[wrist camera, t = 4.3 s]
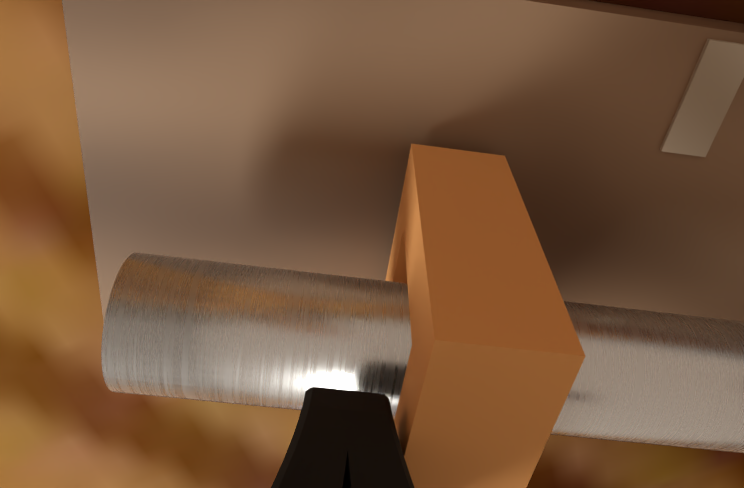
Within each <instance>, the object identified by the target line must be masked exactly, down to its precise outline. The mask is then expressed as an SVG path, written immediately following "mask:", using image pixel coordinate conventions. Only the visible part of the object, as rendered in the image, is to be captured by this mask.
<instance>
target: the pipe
mask: <svg viewBox="0 0 744 488" xmlns="http://www.w3.org/2000/svg"><path fill="white" fill-rule="evenodd" d="M564 304H565V306H566V309H567V311H568V314H569V316H570V319H571V321H572V324H573V326H574V329H575V331H576V334H577V336H578V339H579V341H580V344H581V346H582V349H583V351H584V354H585V359H584V361H583V363H582V365H581V367H580V370H579V372H578V374H577V376H576V379H575V381H574V383H573V385H572V387H571V390H570V392H569V394H568V396H567V399H566V401H565V403H564V405H563V407H562V410H561V412H560V414H559V416H558V419H557V421H556V423H555V425H554V427H553V430H552V432H551V434H558V435H568V436H579V437H589V438H599V439H609V440H620V441H630V442H640V443H651V444H661V445H671V446H681V447H692V448H702V449H712V450H723V451H733V452H743V453H744V322H743V321H735V320H726V319H717V318H708V317H699V316H691V315H682V314H673V313H664V312H655V311H647V310H638V309H629V308H620V307H611V306H603V305H594V304H585V303H576V302H568V301H564ZM411 347H412V339H411V325H410V311H409V298H408V284H407V283H400V282H392V281H383V280H374V279H365V278H356V277H348V276H339V275H330V274H321V273H313V272H304V271H295V270H286V269H277V268H269V267H260V266H251V265H242V264H233V263H225V262H216V261H207V260H198V259H189V258H181V257H172V256H163V255H154V254H145V253H133V254H131V255H130V256H128V258H127V259H126V260H125V261H124V263H123V265H122V266H121V268H120V270H119V272H118V274H117V277H116V279H115V282H114V284H113V287H112V291H111V294H110V297H109V301H108V305H107V310H106V315H105V320H104V327H103V335H102V354H101V355H102V371H103V376H104V380H105V383H106V385H107V387H108V388H109V389H110V390H111V391H115V392H126V393H136V394H146V395H157V396H167V397H177V398H187V399H198V400H208V401H218V402H229V403H239V404H249V405H259V406H270V407H280V408H290V409H301V410H302V406H303V401H304V396H305V391H306V390H308V389H310V388H312V387H321V388H331V389H341V390H351V391H362V392H372V393H382V394H385V395H386V396H387V397H388V398H389V400H390V405H391V410H392V415H393V419H395V415H396V410H397V406H398V402H399V398H400V393H401V389H402V385H403V381H404V376H405V372H406V368H407V364H408V359H409V355H410V351H411Z"/></svg>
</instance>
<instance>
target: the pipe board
mask: <svg viewBox="0 0 744 488" xmlns="http://www.w3.org/2000/svg"><path fill="white" fill-rule="evenodd" d="M62 4H63V12H64V19H65V27H66V35H67V42H68V50H69V58H70V66H71V73H72V81H73V89H74V96H75V104H76V112H77V120H78V127H79V135H80V143H81V150H82V158H83V166H84V173H85V181H86V189H87V197H88V204H89V212H90V220H91V227H92V235H93V243H94V250H95V258H96V266H97V274H98V281H99V289H100V297H101V304H102V312H103V320H105V315H106V310H107V305H108V301H109V297H110V294H111V291H112V287H113V284H114V282H115V279H116V277H117V274H118V272H119V270H120V268H121V266H122V265H123V263H124V261H125V260H126V259H127V258H128V256H130V255H131V254H133V253H145V254H154V255H163V256H172V257H181V258H189V259H198V260H207V261H216V262H225V263H233V264H242V265H251V266H260V267H269V268H277V269H286V270H295V271H304V272H313V273H321V274H330V275H339V276H348V277H356V278H365V279H374V280H383V281H385V280H386V275H387V269H388V264H389V259H390V254H391V248H392V243H393V238H394V232H395V227H396V222H397V217H398V211H399V206H400V201H401V196H402V190H403V185H404V180H405V174H406V169H407V164H408V159H409V153H410V148H411V144H419V145H427V146H434V147H442V148H449V149H457V150H465V151H472V152H480V153H488V154H495V155H503V156H505V157H506V160H507V162H508V165H509V167H510V170H511V172H512V175H513V177H514V180H515V182H516V185H517V187H518V189H519V192H520V194H521V197H522V199H523V202H524V204H525V207H526V209H527V212H528V214H529V217H530V219H531V222H532V224H533V227H534V229H535V232H536V234H537V237H538V239H539V242H540V244H541V247H542V249H543V252H544V254H545V257H546V259H547V262H548V264H549V267H550V269H551V272H552V274H553V276H554V279H555V281H556V284H557V286H558V289H559V291H560V294H561V296H562V299H563V301H568V302H576V303H585V304H594V305H603V306H611V307H620V308H629V309H638V310H647V311H655V312H664V313H673V314H682V315H691V316H699V317H708V318H717V319H726V320H735V321H743V322H744V24H743V23H736V22H729V21H723V20H716V19H709V18H703V17H696V16H690V15H683V14H676V13H670V12H663V11H657V10H650V9H643V8H637V7H630V6H624V5H617V4H610V3H604V2H597V1H591V0H62ZM113 392H115V391H113ZM120 393H126V392H120ZM130 394H136V393H130ZM140 395H146V394H140ZM151 396H157V395H151ZM161 397H167V396H161ZM171 398H177V397H171ZM181 399H187V398H181ZM192 400H198V399H192ZM202 401H208V400H202ZM212 402H218V401H212ZM223 403H229V402H223ZM233 404H239V403H233ZM243 405H249V404H243ZM254 406H259V405H254ZM264 407H270V406H264ZM274 408H280V407H274ZM284 409H290V408H284ZM295 410H301V409H295ZM552 435H558V434H552ZM563 436H568V435H563ZM573 437H579V436H573ZM583 438H589V437H583ZM593 439H599V438H593ZM604 440H609V439H604ZM614 441H620V440H614ZM624 442H630V441H624ZM635 443H640V442H635ZM645 444H651V443H645ZM655 445H661V444H655ZM666 446H671V445H666ZM676 447H681V446H676ZM686 448H692V447H686ZM696 449H702V448H696ZM707 450H712V449H707ZM717 451H723V450H717ZM727 452H733V451H727ZM738 453H743V452H738Z"/></svg>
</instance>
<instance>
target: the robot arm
mask: <svg viewBox="0 0 744 488" xmlns="http://www.w3.org/2000/svg"><path fill="white" fill-rule="evenodd" d="M271 488H414V485H413V482H412V479H411V476H410V473H409V470H408V467H407V464H406V461H405V458H404V455H403V452H402V448H401V445H400V442H399V438H398V435H397V431H396V427H395V423H394V419H393V415H392V410H391V405H390V400H389V398H388V397H387V396H386V395H385V394H382V393H372V392H362V391H351V390H341V389H331V388H321V387H312V388H310V389H308V390H306V391H305V396H304V401H303V406H302V410H301V413H300V417H299V420H298V423H297V426H296V429H295V432H294V435H293V438H292V440H291V443H290V445H289V448H288V450H287V453H286V455H285V458H284V460H283V463H282V465H281V467H280V469H279V472H278V474H277V476H276V478H275V480H274V482H273V485H272V487H271Z"/></svg>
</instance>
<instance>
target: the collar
mask: <svg viewBox="0 0 744 488" xmlns="http://www.w3.org/2000/svg"><path fill="white" fill-rule="evenodd" d="M385 281H392V282H400V283H407V284H408V298H409V311H410V325H411V339H412V347H411V351H410V355H409V359H408V364H407V368H406V372H405V376H404V381H403V385H402V389H401V393H400V398H399V402H398V406H397V410H396V415H395V419H394V423H395V427H396V431H397V435H398V438H399V442H400V445H401V448H402V452H403V455H404V458H405V461H406V464H407V467H408V470H409V473H410V476H411V479H412V482H413V485H414V488H526V487H527V485H528V483H529V481H530V478H531V476H532V474H533V472H534V470H535V467H536V465H537V463H538V461H539V458H540V456H541V454H542V452H543V450H544V447H545V445H546V443H547V441H548V438H549V436H550V434H551V432H552V430H553V427H554V425H555V423H556V421H557V419H558V416H559V414H560V412H561V410H562V407H563V405H564V403H565V401H566V399H567V396H568V394H569V392H570V390H571V387H572V385H573V383H574V381H575V379H576V376H577V374H578V372H579V370H580V367H581V365H582V363H583V361H584V359H585V354H584V351H583V349H582V346H581V344H580V341H579V339H578V336H577V334H576V331H575V329H574V326H573V324H572V321H571V319H570V316H569V314H568V311H567V309H566V306H565V304H564V301H563V299H562V296H561V294H560V291H559V289H558V286H557V284H556V281H555V279H554V276H553V274H552V272H551V269H550V267H549V264H548V262H547V259H546V257H545V254H544V252H543V249H542V247H541V244H540V242H539V239H538V237H537V234H536V232H535V229H534V227H533V224H532V222H531V219H530V217H529V214H528V212H527V209H526V207H525V204H524V202H523V199H522V197H521V194H520V192H519V189H518V187H517V185H516V182H515V180H514V177H513V175H512V172H511V170H510V167H509V165H508V162H507V160H506V157H505V156H503V155H495V154H488V153H480V152H472V151H465V150H457V149H449V148H442V147H434V146H427V145H419V144H411V148H410V153H409V159H408V164H407V169H406V174H405V180H404V185H403V190H402V196H401V201H400V206H399V211H398V217H397V222H396V227H395V232H394V238H393V243H392V248H391V254H390V259H389V264H388V269H387V275H386V280H385Z"/></svg>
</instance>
